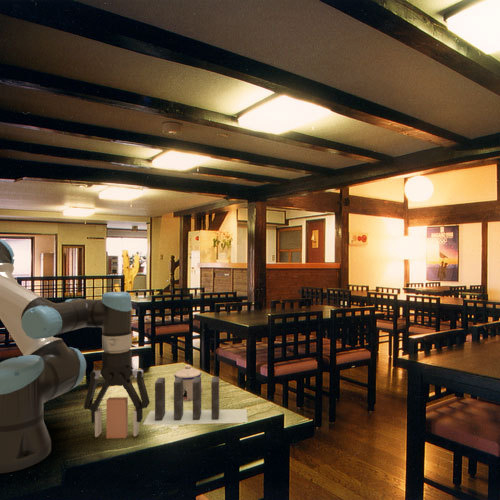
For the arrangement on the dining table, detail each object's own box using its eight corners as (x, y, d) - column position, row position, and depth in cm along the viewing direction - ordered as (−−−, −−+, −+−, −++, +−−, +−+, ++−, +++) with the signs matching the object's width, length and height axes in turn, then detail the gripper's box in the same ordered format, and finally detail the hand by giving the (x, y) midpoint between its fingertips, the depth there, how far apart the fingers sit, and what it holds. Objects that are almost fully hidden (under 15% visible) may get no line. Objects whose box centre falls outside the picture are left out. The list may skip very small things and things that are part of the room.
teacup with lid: (169, 399, 133) (168, 365, 133) (190, 392, 140) (190, 360, 140) (190, 409, 125) (190, 372, 125) (212, 401, 131) (212, 366, 132)
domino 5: (211, 419, 114) (211, 382, 114) (212, 412, 119) (212, 376, 119) (218, 419, 114) (218, 381, 114) (219, 412, 119) (219, 376, 119)
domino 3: (173, 420, 114) (173, 382, 114) (176, 413, 119) (176, 377, 119) (180, 420, 114) (180, 382, 114) (183, 413, 119) (183, 377, 119)
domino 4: (192, 420, 114) (192, 382, 114) (194, 413, 119) (194, 377, 119) (199, 419, 114) (199, 382, 114) (201, 413, 119) (201, 377, 119)
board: (142, 428, 111) (142, 424, 111) (150, 414, 121) (150, 410, 121) (247, 426, 112) (247, 422, 112) (246, 412, 122) (246, 409, 122)
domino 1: (125, 441, 103) (125, 399, 103) (106, 442, 103) (106, 400, 103) (127, 438, 105) (127, 397, 105) (109, 438, 105) (109, 397, 105)
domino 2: (155, 420, 114) (154, 382, 114) (158, 413, 119) (158, 377, 119) (161, 420, 114) (161, 382, 114) (165, 413, 119) (165, 377, 119)
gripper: (69, 353, 100) (69, 441, 100) (155, 352, 101) (155, 439, 100) (81, 347, 108) (81, 428, 107) (161, 346, 108) (161, 427, 108)
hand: (117, 434), depth 104 cm, fingers open, 9 cm apart
